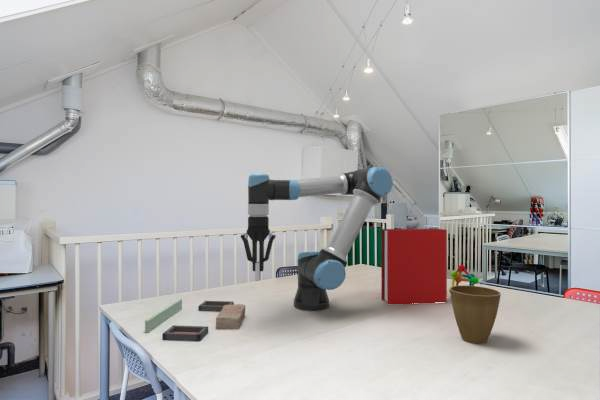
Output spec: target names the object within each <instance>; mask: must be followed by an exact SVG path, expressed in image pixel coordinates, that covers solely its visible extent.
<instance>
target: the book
mask: <svg viewBox="0 0 600 400" xmlns="http://www.w3.org/2000/svg"><path fill="white" fill-rule="evenodd" d="M447 231H448V230H447V229H443V228H381V301H386V302H387V303H386V304H403V305H415V304H414V303H435V302H447V301H448V299H447V298H448V297H447V296H448V293H447V292H448V284H447V283H448V281H447V280H448V277H447V276H448V273H447V272H448V270H447V266H448V265H447V263H448V259H447V258H448V257H447V256H448V255H447V253H448V252H447V251H448V249H447V248H448V247H447V246H448V243H447V242H448V241H447V239H448V238H447V237H448V235H447V234H448V232H447ZM412 303H413V304H412ZM447 303H448V302H447Z"/></svg>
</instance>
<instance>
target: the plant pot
mask: <svg viewBox="0 0 600 400" xmlns="http://www.w3.org/2000/svg"><path fill="white" fill-rule="evenodd" d="M449 288H450V292H449V293H450V299H451V305H452V306H451V307H452V310H453V315H454V319H455V321H456V322H455V323H456V325H457V329H458V332H459V334H460V336H461V339H462V340H463V341H465V342H468V343H471V344H479V343H480V344H485V343H487V342H488V340H489V338H490V335H491V333H492V330H493V328H494V325H495V321H496V318H497V314H498V310H499V307H500V301H501V296H502V295H501V292H500V291H499V290H496V289H493V288H490V287H484V286H477V285H474V286H469V285H458V286H456V285H454V286H453V287H452V286H451V287H449Z"/></svg>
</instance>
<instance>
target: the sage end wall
mask: <svg viewBox="0 0 600 400" xmlns="http://www.w3.org/2000/svg"><path fill="white" fill-rule="evenodd" d="M182 309H183V299H182V298H179V299H177V300H176V301H174V302H172V303H171V304H170V305H168V306H166V307H164V308H163V309H161V310H160V311H158V312H157V313H155V314H153V315H151V316H150V317H148V318H147V319H145V321H144V332H145V333H150V332H152V330H154V329H155V328H157V327H159V326H161V324H163V323H164V322H166V321H167V320H168V319H170V318H171V317H173V316H174V315H175V314H178V312H179V311H181V310H182Z"/></svg>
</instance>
